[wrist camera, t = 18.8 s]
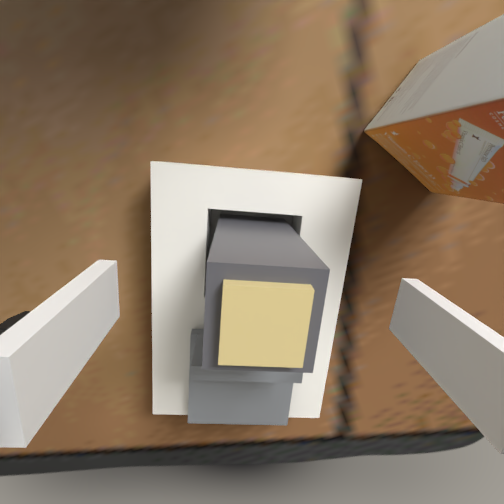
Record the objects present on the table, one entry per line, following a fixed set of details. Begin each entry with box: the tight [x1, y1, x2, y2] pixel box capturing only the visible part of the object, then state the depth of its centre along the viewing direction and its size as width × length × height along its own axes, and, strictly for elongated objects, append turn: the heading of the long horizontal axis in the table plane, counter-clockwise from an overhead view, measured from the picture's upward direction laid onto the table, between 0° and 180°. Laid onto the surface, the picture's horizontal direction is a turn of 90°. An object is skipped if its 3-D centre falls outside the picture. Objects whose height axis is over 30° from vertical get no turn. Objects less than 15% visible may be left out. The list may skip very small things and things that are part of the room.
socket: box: [151, 161, 362, 418], centre depth 24 cm, size 20×14×4 cm
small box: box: [364, 14, 504, 204], centre depth 17 cm, size 8×6×13 cm
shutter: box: [188, 329, 303, 425], centre depth 22 cm, size 8×8×4 cm
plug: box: [202, 214, 330, 373], centre depth 18 cm, size 5×5×13 cm
